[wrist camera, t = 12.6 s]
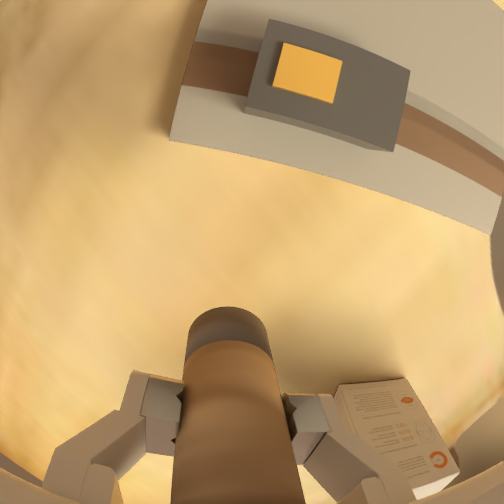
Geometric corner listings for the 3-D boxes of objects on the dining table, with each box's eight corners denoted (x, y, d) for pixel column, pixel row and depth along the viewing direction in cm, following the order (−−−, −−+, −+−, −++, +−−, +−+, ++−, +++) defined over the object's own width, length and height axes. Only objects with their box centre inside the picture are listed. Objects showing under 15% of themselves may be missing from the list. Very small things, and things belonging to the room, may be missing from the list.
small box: (322, 423, 28) (349, 526, 16) (338, 382, 26) (380, 499, 14) (386, 415, 29) (426, 504, 17) (407, 376, 27) (462, 471, 15)
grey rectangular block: (243, 113, 17) (245, 105, 13) (263, 39, 15) (269, 16, 11) (367, 149, 18) (395, 152, 14) (383, 79, 16) (413, 69, 12)
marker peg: (182, 361, 12) (166, 524, 5) (195, 298, 11) (175, 484, 4) (254, 373, 12) (279, 530, 6) (276, 314, 11) (328, 488, 5)
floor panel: (173, 140, 18) (168, 140, 17) (252, -94, 11) (253, -104, 10) (479, 230, 22) (490, 235, 20) (509, 27, 14) (518, 25, 13)
